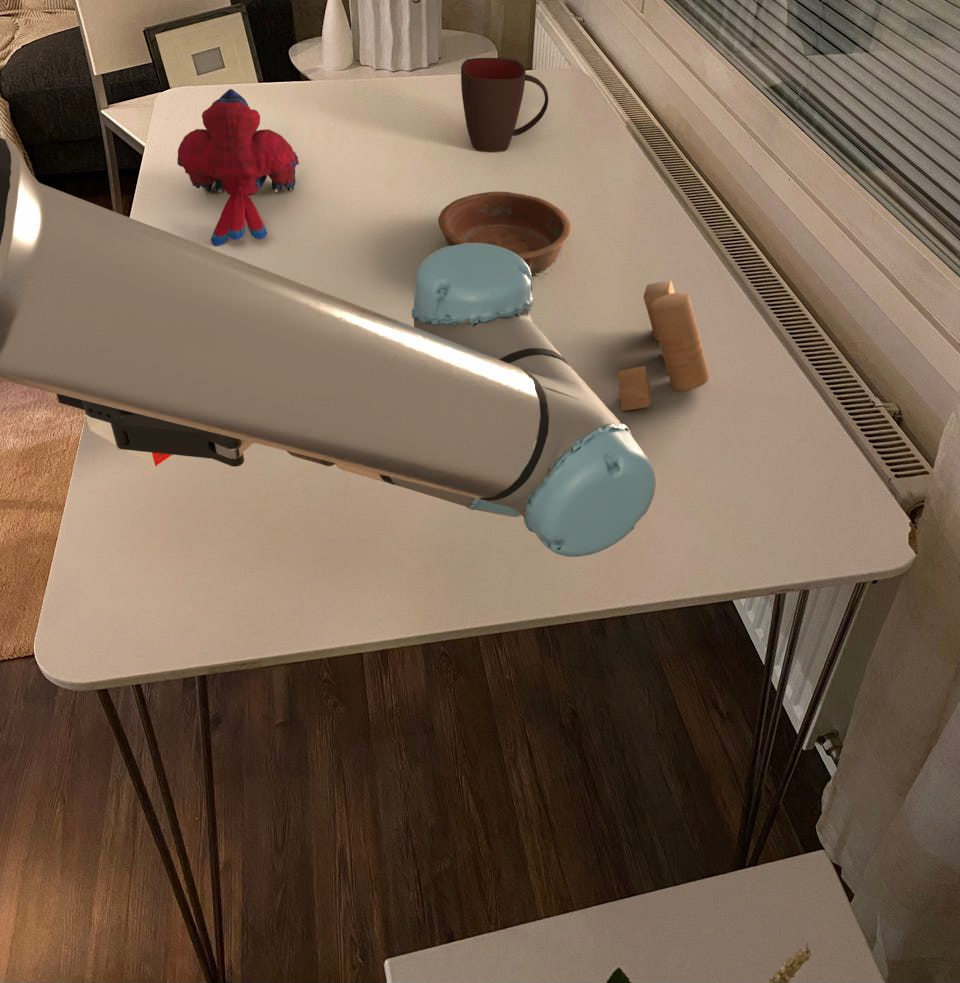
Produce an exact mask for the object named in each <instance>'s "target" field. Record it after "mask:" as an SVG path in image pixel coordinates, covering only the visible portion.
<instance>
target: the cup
mask: <svg viewBox="0 0 960 983" xmlns="http://www.w3.org/2000/svg"><path fill="white" fill-rule="evenodd" d="M526 73H527V72H526V68H525V67H524V65H523V64H522V63H521V62H520V61H518V60H516V59H509V58H501V57H475V58H474V57H473V58H468V59H466V60H464V62H462V64H461V66H460V83H461V84H460V86H461V87H460V88H461V97H462V98H461V99H462V104H463V113H464V118H465V125H466V129H467V133H468V138H469V142H470V145H471V146H472V148H473V149H474V150H475V152H476V151H477V152H481V153H482V152H483V153H503V152H506V151H507V150H508V148H509V146H510V143H511V140H512V138H513V137H517V136H520V135H522V134H524V133H526V132H528V131H529V130H531V129H532V128H533V127H535V125H537V124H538V123H539V122H540V120H542V118H543V116H544V115H545V113H546V111H547V109H548V106H549V93H548V89H547V88H546V86H545V84H544V83H543V82H542V81H541V80H540V79H538V78H537V77H535V76H533V75H530V74H526ZM526 82H530V83H533V84H535V85H537V86H538V87H539V88H540V89H541V90H542V92H543V95H544V102H543V105H542V107H541V109H540V111H539V112H538V113H537V114H536V115H535V116H534V117H533V118H532V119H530V121H528V122H527V123H525V124H524V125H522V126H521V127H518V128H516V126H517V122H518V118H519V114H520V110H521V106H522V102H523V97H524V91H525V83H526Z"/></svg>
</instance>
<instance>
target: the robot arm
mask: <svg viewBox="0 0 960 983" xmlns="http://www.w3.org/2000/svg"><path fill="white" fill-rule="evenodd" d="M534 304H535V297H534V296H533V278H532V274H531V272H530V269H529V267H528V265H527V264H526V262H525V261H524V260H523V259H522V258H521V257H520V256H518V255H517V254H515V253H514V252H512V251H510V250H508V249H505V248H502V247H499V246H495V245H491V244H484V243H463V244H459V245H454V246H448V245H447V246H444V247H441V248H439V249H437V250H435V251H433V252H432V253H430V254H429V255H428V256H426V258H424V259H423V260H422V262H421V263H420V264H419V265H418V267H417V271H416V275H415V287H414V300H413V308H412V310H411V319H413V326H412V325H410V324H407V323H405V322H402V321H399V320H397V319H394V318H391V317H389V316H386V315H384V314H381V313H378V312H376V311H373V310H371V309H368V308H366V307H363V306H360V305H358V304H355V303H352V302H349V301H347V300H345V299H342V298H340V297H337V296H334V295H331V294H329V293H327V292H324V291H321V290H319V289H316V288H314V287H311V286H309V285H306V284H303V283H300V282H298V281H296V280H293V279H290V278H288V277H285V276H282V275H280V274H277V273H275V272H272V271H269V270H266V269H264V268H262V267H259V266H256V265H253V264H251V263H248V262H246V261H244V260H240V259H239V258H236V257H233V256H230V255H228V254H225V253H224V252H223V253H222V252H220V251H217V250H215V249H212V248H210V247H207V246H205V245H201V244H199V243H196V242H195V241H191V240H188V239H186V238H184V237H181V236H178V235H177V234H176V235H175V234H173V233H170V232H168V231H166V230H163V229H160V228H157V227H155V226H152V225H150V224H147V223H144V222H142V221H139V220H137V219H135V218H132V217H129V216H126V215H123V214H121V213H119V212H116V211H113V210H111V209H108V208H106V207H103V206H100V205H98V204H95V203H94V202H93V203H92V202H90V201H87V200H85V199H82V198H79V197H77V196H74V195H72V194H69V193H66V192H64V191H61V190H59V189H56V188H54V187H52V186H49V185H45V184H44V183H41V182H39V181H38V179H36V178H35V177H34V175H33V174H32V172H31V170H30V169H29V167H28V165H27V163H26V161H25V160H24V158H23V156H22V154H21V153H20V150H19V148H18V146H17V145H15V143H14V142H12V141H10V140H7V139H5V138H2V137H0V380H1V381H4V382H8V383H13V384H17V385H19V386H24V387H27V388H33V389H37V390H40V391H45V392H49V393H53V394H56V398H57V400H58V403H59V404H62V405H65V406H70V407H73V408H75V409H78V410H79V409H80V410H81V411H84V410H85V413H84V415H85V414H86V415H88V416H89V417H91V418H96V419H98V420H102V421H105V422H108V423H111V427H112V430H113V434H114V437H115V441H116V444H117V445H116V447H117V449H119V450H123V451H126V450H133V451H142V452H152V453H162V454H171V455H172V456H182V457H193V458H201V459H212V460H215V461H217V462H220V463H223V464H225V465H227V466H230V467H235V468H236V467H240V466H242V465H243V464H244V463H245V456H244V453H245V451H246V450H247V449H249V448H250V447H251V446H252V445H253V444H258V445H261V446H266V447H269V448H273V449H277V450H282V451H285V452H287V453H288V454H289V455H290V456H292V457H294V458H297V459H302V460H305V461H308V462H312V463H315V464H319V465H322V466H326V467H333V466H336V467H337V468H338V469H339V470H342V471H345V472H348V473H352V474H356V475H359V476H362V477H365V478H369V479H372V480H375V481H379V482H383V483H387V484H390V485H394V486H398V487H401V488H404V489H406V490H407V489H408V490H410V491H412V492H413V491H414V492H416V493H420V494H423V495H426V496H430V497H433V498H437V499H440V500H443V501H446V502H449V503H453V504H457V505H459V506H462V507H465V508H467V509H468V510H471V511H479V512H484V513H490V514H494V515H500V516H505V517H510V518H518V517H519V518H520V517H523V524H524V525H525V527H526V529H527V530H528V531H530V532H531V533H534V535H536V537H537V538H538V539H539V541H540V542H541V543H542V544H543V545H544V546H545V547H546V548H547V549H549V550H550V551H551V552H553V553H554V554H557V555H560V556H563V557H568V558H578V557H585V556H590V555H591V556H592V555H594V554H597V553H600V552H602V551H604V550H607V549H608V548H610V547H612V546H614V545H615V544H617V543H619V542H620V541H622V540H623V539H624V538H625V537H627V536H628V535H629V534H630V533H631V532H632V531H633V530H634V529H635V526H636V525H637V523H638V522H639V521H640V520H641V519H642V518H643V517H644V516H645V515H646V514H647V512H648V510H649V509H650V507H651V504H652V502H653V500H654V496H655V493H656V484H657V483H656V482H657V481H656V478H657V477H656V472H655V469H654V467H653V464H652V462H651V461H650V459H649V458H648V457H647V455H646V454H645V452H644V451H643V450H642V448H641V447H640V445H639V444H638V443H637V441H636V439H635V438H634V437H633V433H632V432H631V430H630V429H629V427H628V426H627V425H626V424H625V423H622V422H621V421H620V420H619V418H617V417H616V416H615V414H614V413H613V412H612V411H611V410H610V409H609V408H608V407H607V405H605V403H604V402H603V401H602V400H601V398H599V397H598V396H597V394H596V393H595V392H594V391H593V390H592V389H591V388H590V386H588V384H587V383H586V382H585V381H584V379H582V377H581V376H579V374H578V372H576V371H575V369H573V368H572V367H571V365H570V364H569V363H568V362H567V360H566V359H565V358H564V356H563V355H562V354H561V353H560V352H559V351H558V349H557V348H556V347H555V346H554V345H553V344H552V342H551V341H550V340H549V339H548V338H547V336H545V334H544V333H543V332H542V331H541V330H540V329H539V327H537V325H536V324H535V323H534V321H533V319H532V316H531V310H532V307H533V305H534ZM137 414H139V415H140V416H138V415H137Z"/></svg>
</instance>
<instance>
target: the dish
mask: <svg viewBox="0 0 960 983" xmlns="http://www.w3.org/2000/svg"><path fill="white" fill-rule="evenodd" d="M437 219H438V220H437V223H438V228H439V229H440V231H441V233H442V234H443V236H444V239H445V241H446V242H445V243H446V244H447V246H454V245H459V244H463V243H484V244H491V245H495V246H499V247H502V248H505V249H508V250H510V251H512V252H514V253H515V254H517V255H518V256H520V257H521V258H522V259H523V260H524V261H525V262H526V264H527V265H528V267H529V269H530V272H531V275H535V274H538V273H541V272H543V271H545V270H546V269H548V268H549V267H550V266H551V265H552V264H553V263H554V262H555V261H556V260H557V259H558V256H559V255H560V252H561V251H562V248H563V246H564V244H565V243H566V242H567V241H568V239H569V238H570V236H571V232H572V224H571V221H570V219H569V217H568V216H567V215H566V213H564V211H563V210H562V209H561V208H559V207H558V206H557V205H554V204H553V203H551V202H549V201H547V200H546V199H543V198H540V197H537V196H533V195H529V194H523V193H516V192H511V191H487V192H479V193H474V194H471V195H467V196H463V197H460V198H457V199H455V200H453V201H452V202H450V203H449V204H447V205H446V206H445V207H444V208H443V209H442V210H441V212H440V214H439V216H438V218H437Z"/></svg>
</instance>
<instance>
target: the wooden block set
mask: <svg viewBox="0 0 960 983" xmlns="http://www.w3.org/2000/svg"><path fill="white" fill-rule="evenodd" d="M643 300H644V304H645V308H646V310H647V314H648V319H649V321H650V325H651V329H652V333H653V336H654V340H656V341H658V342H659V346H660V349H661V353H662V357H663V360H664V364H665V368H666V371H667V376H668V378H669V381H670V382H669V383H670V386H671V387H672V388H673V389H674V390H677V391H691V390H695V389H698V388H700V387H702V386H703V385H705V384H706V383H708V381H709V379H710V373H709V368H708V365H707V361H706V356H705V353H704V349H703V344H702V341H701V336H700V333H699V329H698V325H697V321H696V317H695V313H694V308H693V305H692V300H691V297H690V295H688V294H687V293H685V292H675V288H674V285H673V282H672V279H671V280H670V279H669V280H664V281H658V282H655V283H649V284H646V286H645V290H644V294H643ZM617 379H618V388H619V400H620V410H621V412H623V411H630V410H631V411H632V410H636V409H643V408H649V407H650V405H651V404H650V403H651V400H652V395H653V390H652V385H651V383H650V378H649V375H648V373H647V368H646V366H637V367H631V368H626V369H620V370H617Z"/></svg>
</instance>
